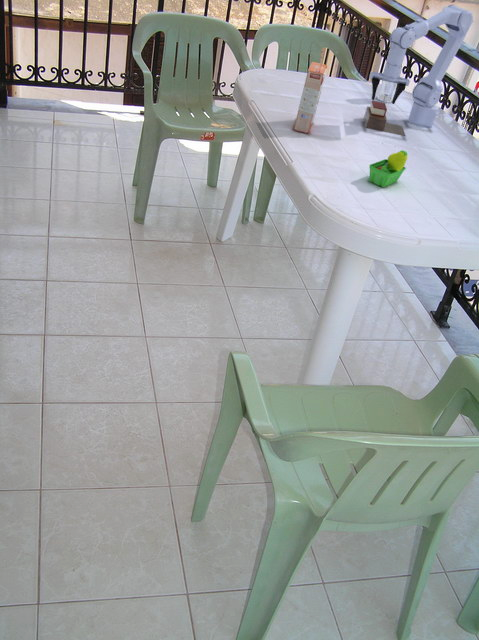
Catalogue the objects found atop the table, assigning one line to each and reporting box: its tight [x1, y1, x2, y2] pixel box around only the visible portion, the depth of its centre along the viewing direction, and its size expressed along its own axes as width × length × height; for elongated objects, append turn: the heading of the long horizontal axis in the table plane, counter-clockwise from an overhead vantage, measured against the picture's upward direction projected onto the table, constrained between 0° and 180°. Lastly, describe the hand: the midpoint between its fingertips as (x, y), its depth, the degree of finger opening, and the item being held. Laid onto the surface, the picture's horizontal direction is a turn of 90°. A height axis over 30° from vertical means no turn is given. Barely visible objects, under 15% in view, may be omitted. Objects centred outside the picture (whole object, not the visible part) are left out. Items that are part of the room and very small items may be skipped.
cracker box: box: [293, 61, 328, 135], centre depth 237 cm, size 14×6×21 cm, turn 168°
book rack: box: [363, 106, 407, 137], centre depth 254 cm, size 15×12×6 cm
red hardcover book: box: [369, 100, 388, 117], centre depth 251 cm, size 5×8×3 cm, turn 175°
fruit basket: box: [369, 149, 408, 188], centre depth 208 cm, size 11×9×11 cm
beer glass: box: [377, 65, 403, 103], centre depth 288 cm, size 7×7×15 cm
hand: (382, 101), depth 253 cm, fingers open, 7 cm apart
